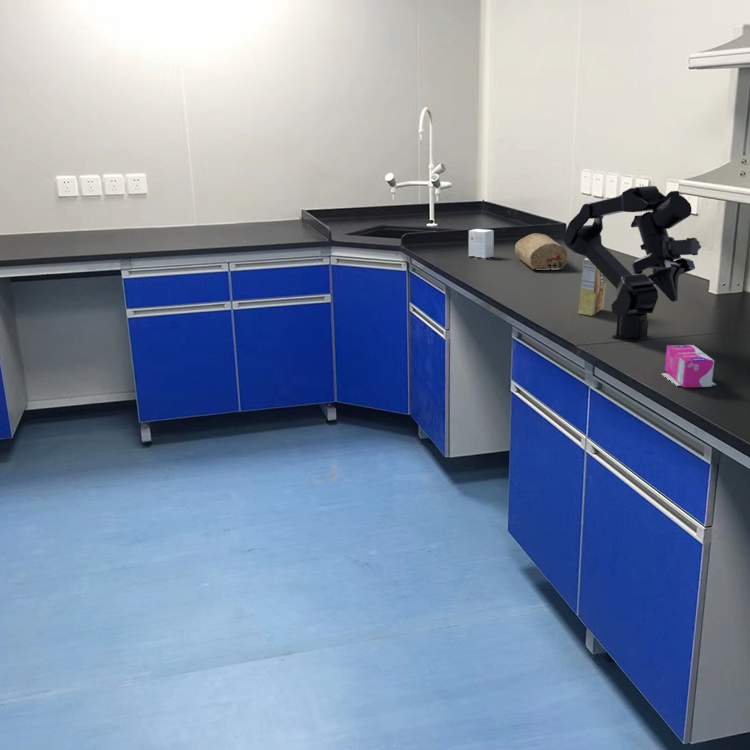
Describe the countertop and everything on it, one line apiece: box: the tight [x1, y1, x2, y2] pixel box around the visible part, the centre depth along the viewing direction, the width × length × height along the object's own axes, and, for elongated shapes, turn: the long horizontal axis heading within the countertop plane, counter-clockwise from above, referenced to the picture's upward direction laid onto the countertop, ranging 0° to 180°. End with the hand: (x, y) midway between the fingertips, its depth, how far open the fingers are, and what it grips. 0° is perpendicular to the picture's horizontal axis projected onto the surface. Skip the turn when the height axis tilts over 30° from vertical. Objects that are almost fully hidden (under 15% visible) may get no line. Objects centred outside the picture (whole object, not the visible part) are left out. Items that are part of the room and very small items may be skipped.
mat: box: [661, 372, 717, 387], centre depth 170 cm, size 8×8×1 cm
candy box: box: [578, 257, 607, 317], centre depth 226 cm, size 9×4×15 cm, turn 145°
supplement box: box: [663, 344, 715, 388], centre depth 169 cm, size 6×6×12 cm
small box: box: [468, 228, 495, 258], centre depth 315 cm, size 8×6×10 cm
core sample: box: [514, 232, 568, 270], centre depth 298 cm, size 14×26×10 cm, turn 2°
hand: (674, 301), depth 187 cm, fingers closed
